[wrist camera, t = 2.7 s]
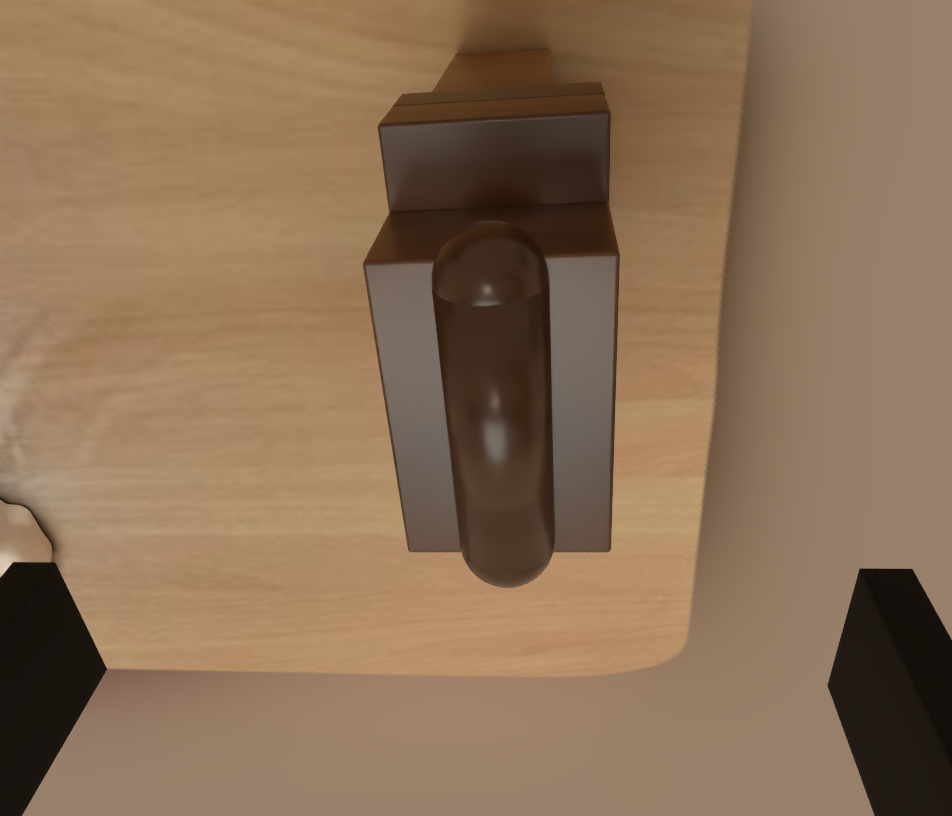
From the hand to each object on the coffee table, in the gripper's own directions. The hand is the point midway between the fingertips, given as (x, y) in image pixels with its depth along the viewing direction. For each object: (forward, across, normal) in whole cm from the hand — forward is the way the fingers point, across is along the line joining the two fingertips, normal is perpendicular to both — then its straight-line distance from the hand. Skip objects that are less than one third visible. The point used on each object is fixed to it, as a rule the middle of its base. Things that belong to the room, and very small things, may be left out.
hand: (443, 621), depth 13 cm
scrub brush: (+12, +1, 0) cm, 12 cm away
